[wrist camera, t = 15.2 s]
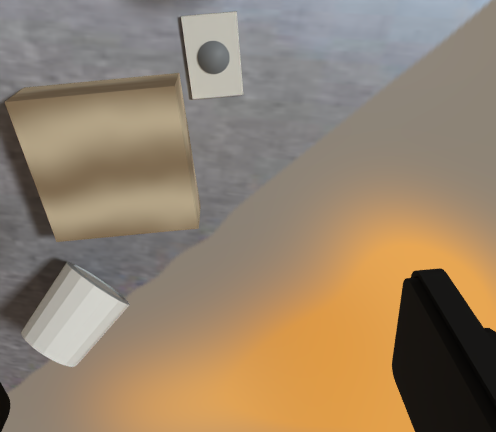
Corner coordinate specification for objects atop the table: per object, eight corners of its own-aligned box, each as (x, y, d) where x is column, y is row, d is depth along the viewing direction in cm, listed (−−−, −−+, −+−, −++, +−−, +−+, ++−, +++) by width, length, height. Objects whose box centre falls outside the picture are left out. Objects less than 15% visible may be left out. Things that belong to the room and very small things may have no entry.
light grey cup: (43, 328, 44) (88, 269, 45) (94, 370, 42) (140, 308, 43) (-1, 322, 37) (54, 253, 39) (57, 371, 36) (112, 297, 37)
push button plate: (181, 16, 32) (180, 16, 32) (236, 11, 32) (236, 11, 32) (192, 98, 35) (192, 99, 35) (243, 93, 35) (243, 95, 35)
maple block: (25, 86, 35) (4, 102, 31) (179, 71, 35) (174, 85, 31) (70, 216, 41) (56, 241, 38) (200, 204, 41) (198, 228, 38)
